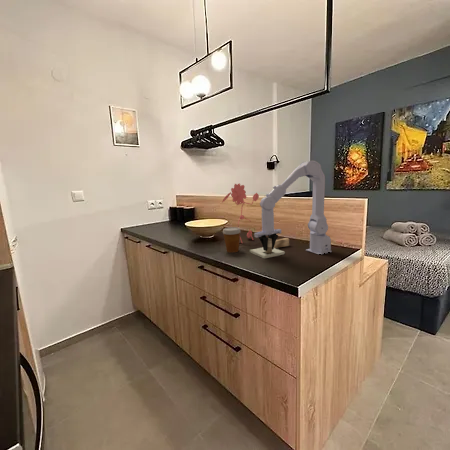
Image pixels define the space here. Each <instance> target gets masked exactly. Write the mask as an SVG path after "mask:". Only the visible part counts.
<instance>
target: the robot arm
mask: <svg viewBox="0 0 450 450" xmlns="http://www.w3.org/2000/svg"><path fill="white" fill-rule="evenodd" d="M301 177H306V178H309V180H311V181H312V199H311V200H312V202H311V203H312V205H311V206H312V207H311V215H310V216H309V220H308V222H307V228H308V230H309V248H307V249H305V251H306V252H310V253H314V254H317V255H319V254H321V255H324V253H325V254H329V253H328V252H330V253H332V245H331V244H332V239H331V237H330V236H329V235H327V234H326V233H327V232H328V230H329V225H328V221H327V220H328V219H327V217H326V216H325V194H326V193H325V192H326V191H325V190H326V188H325V187H326V176H325V173H324V172H323V169H322V164H321V163H319V162H318V161H317V160H308V161H303V162H301V163H300V164H299V165H298V166H296V167H295V168H294V170H293V171H292V172H291V173H290V174H289V175H288V176H287V177H286V179H285V180H283V182H282V183H280V184H276V185H273V186H272V189H271V190H270V191H269V192H268V193H266V194H265V196H264V197H262V198H261V200H260V202H259V206H260V207H261V230H259V231H256V232H254V234H253V236H254V238H258V239H259V241H260V243H261V246H262V247H263V250H265V251H267V243H268V238H271V239H272V250H273V249H274V245H275V242H276V240H277V239H279V235H278V234H282V229H281V228H278V229H277V228H276V229H275V218H274V217H275V214H274V208H275V207H276V204H277V203H278V202H279V201H280V200H281V199H282V198H283V197H284V196H285V195H286V193H287V189H288V188H289V187H290V186H291V185H292V184H293V183H295V182H296V181H297V180H298V179H299V178H301Z"/></svg>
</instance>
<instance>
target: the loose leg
mask: <svg viewBox="0 0 450 450" xmlns="http://www.w3.org/2000/svg"><path fill="white" fill-rule="evenodd" d="M265 253H266V254H267V255H268V254H272V239H271V238H269V237H268V243H267V251H265Z"/></svg>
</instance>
